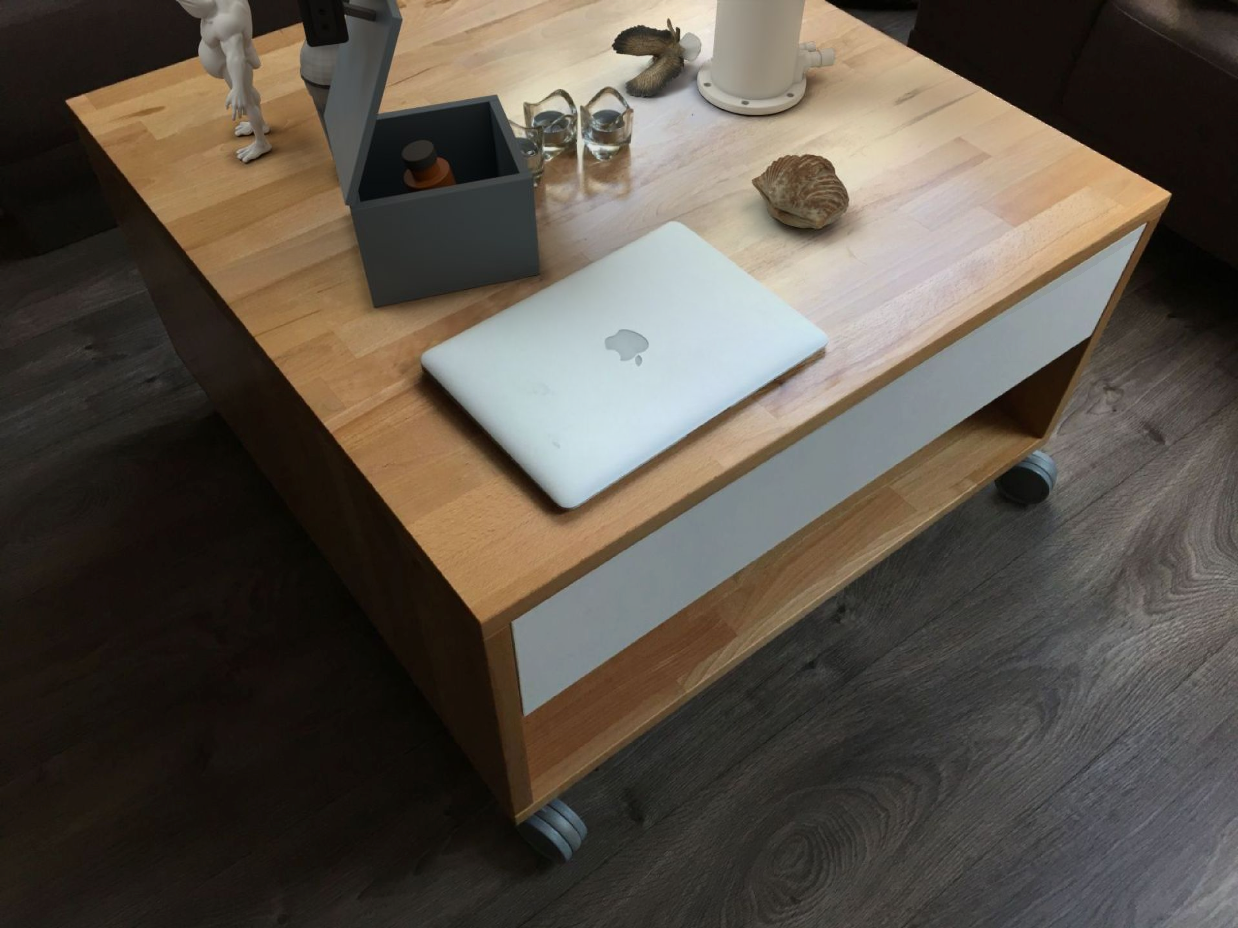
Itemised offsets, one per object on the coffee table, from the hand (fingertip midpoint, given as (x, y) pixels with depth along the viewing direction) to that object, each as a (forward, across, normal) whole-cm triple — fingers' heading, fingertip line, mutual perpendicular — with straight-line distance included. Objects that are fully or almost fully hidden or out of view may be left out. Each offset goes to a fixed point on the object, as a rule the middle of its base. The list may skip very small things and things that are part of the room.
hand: (323, 23), depth 81 cm
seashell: (+23, -6, -42) cm, 48 cm away
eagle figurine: (+23, +23, -37) cm, 49 cm away
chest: (+24, 0, -7) cm, 25 cm away
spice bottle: (+22, 0, -8) cm, 24 cm away
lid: (+5, 0, -2) cm, 5 cm away
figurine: (+24, +23, +10) cm, 35 cm away
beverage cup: (+24, +15, -1) cm, 28 cm away
